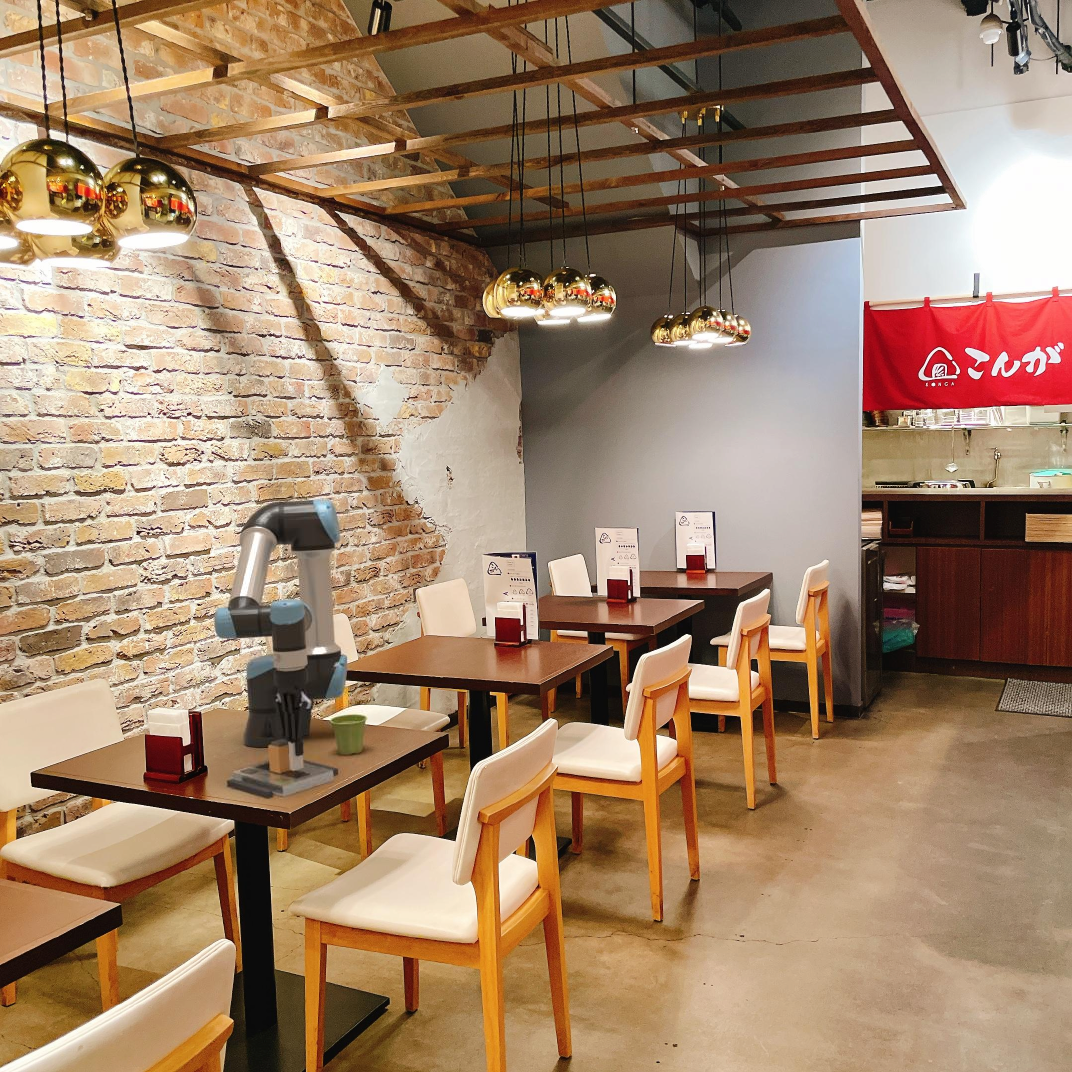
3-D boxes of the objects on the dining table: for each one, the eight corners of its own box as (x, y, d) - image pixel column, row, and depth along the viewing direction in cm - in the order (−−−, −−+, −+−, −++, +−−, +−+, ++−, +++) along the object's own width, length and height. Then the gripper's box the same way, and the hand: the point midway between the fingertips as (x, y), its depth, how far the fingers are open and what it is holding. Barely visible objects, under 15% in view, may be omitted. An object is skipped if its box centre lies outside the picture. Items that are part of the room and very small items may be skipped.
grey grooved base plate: (224, 785, 233) (224, 779, 233) (297, 763, 249) (297, 758, 249) (267, 798, 222) (267, 792, 222) (340, 774, 238) (340, 769, 238)
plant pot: (374, 747, 261) (373, 714, 260) (359, 757, 252) (357, 723, 251) (342, 746, 263) (340, 713, 263) (325, 756, 254) (323, 722, 254)
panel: (232, 781, 236) (231, 771, 236) (282, 766, 246) (281, 756, 246) (283, 796, 223) (282, 785, 223) (333, 780, 233) (333, 769, 233)
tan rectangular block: (269, 770, 234) (268, 742, 234) (284, 766, 237) (282, 738, 237) (280, 773, 232) (278, 744, 231) (294, 769, 235) (292, 740, 234)
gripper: (260, 667, 231) (266, 768, 232) (294, 673, 222) (300, 777, 224) (287, 662, 236) (293, 760, 238) (321, 667, 228) (327, 769, 230)
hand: (296, 768), depth 231 cm, fingers closed
